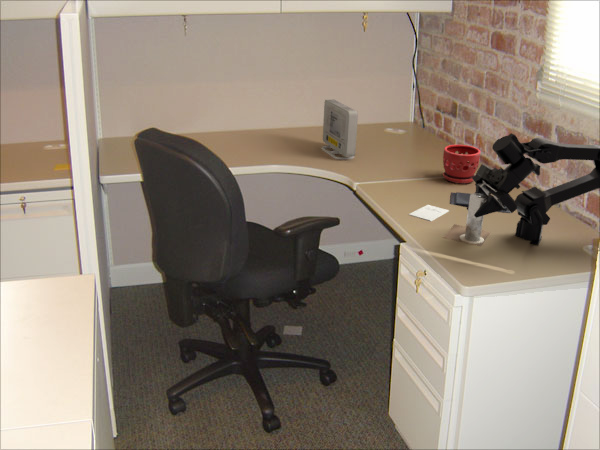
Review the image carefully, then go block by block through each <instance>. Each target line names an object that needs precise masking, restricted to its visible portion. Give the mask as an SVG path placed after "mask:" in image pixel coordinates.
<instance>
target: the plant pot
mask: <svg viewBox="0 0 600 450" xmlns="http://www.w3.org/2000/svg"><path fill="white" fill-rule="evenodd" d="M480 158H481V150H480V149H479V148H477V147H475V146H472V145H467V144H450V145H449V144H448V145H446V146H445V147H444V148H443V156H442V163H443V168H444V172H443V173H442V174H443V178H444V179H446V181H449V182H451V183H455V184H468V183H471V182H474V180H473V179H472V178H473V177H474V176H475V175H476V173H477V172H476V171H478V169H479V168H478V167H479V163H480Z"/></svg>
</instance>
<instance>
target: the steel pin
mask: <svg viewBox="0 0 600 450" xmlns="http://www.w3.org/2000/svg"><path fill="white" fill-rule="evenodd" d="M469 194H470V201H469V208H468V210H467V216H466V223H465V227H466V229H465V236H464V238H465V239H466V240H469V241H479V240H480V236H481V230H483V229H482V228H483V222H484V217H485V215H483V216H480V217H477V218H476V217H475V216H474V214H475V213H476V212H477V210H478V209H479V208H480V207H481V206H482V205H483V204H484V203H485V202H486V195H484V194H480V193H475V192H474V193H469Z"/></svg>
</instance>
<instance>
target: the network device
mask: <svg viewBox="0 0 600 450" xmlns="http://www.w3.org/2000/svg"><path fill="white" fill-rule="evenodd" d="M323 109H324V110H323V124H322V125H323V127H322V141H323V143H324V144H325V145H322V146H321V148H320V149H321V150H322V151H323V152H324V153H326V154H328V155H329V156H331V158H333V159H335V160H339V161H340V160H352V159H355V156H356V150H357V148H356V147H357V135H358V134H357V133H358V120H359V119H358V118H359V113H358V111H357V110H356V109H354V108H352V107H350V106H348V105H345V104H344V103H342V102H340V101H338V100H336V99H324V105H323ZM331 148H332V149H333V150H328V149H331ZM336 155H342V156H343V157H342V156H340V157H339V156H336Z"/></svg>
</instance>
